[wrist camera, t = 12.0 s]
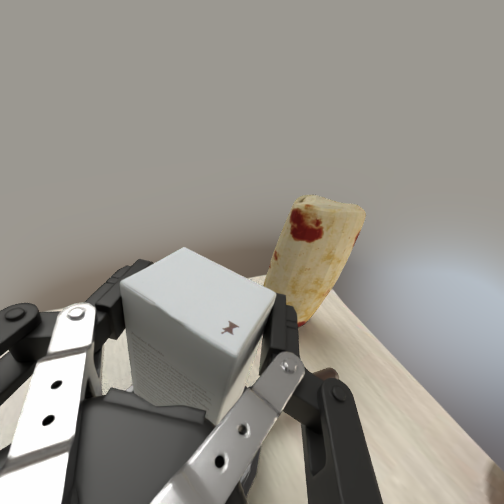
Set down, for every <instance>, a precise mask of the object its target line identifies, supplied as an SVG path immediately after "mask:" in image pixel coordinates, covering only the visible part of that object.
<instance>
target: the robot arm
mask: <svg viewBox="0 0 504 504" xmlns="http://www.w3.org/2000/svg"><path fill="white" fill-rule="evenodd" d="M152 264H154V263H153V262H150V261H146V260H142V259H138V260H137V261H136V262H135V263H134V264H133V265H132V266H125V267H123V268H121V269H119V270H117V272H115V274H113V275H112V276H111V278H109V279H108V280H107V281H106V283H104V284H103V285H102V286H101V287H100V288H99V289H97V291H95V292H94V293H93V294H92V295H91V296H90V297H89V298H88V299H87V300H86V301H85V302H84V303H76V304H73V305H70V306H68V307H66V308H64V309H63V310H62V311H59V312H39V310H38V308H37V307H36V306H35V305H34V304H30V303H20V304H15V305H12V306H9V307H7V308H5V309H3V310H1V311H0V356H1V355H2V354H4V353H5V352H6V351H7V350H9V352H8V353H7V354H5V355H4V356H3V357H2V358H0V406H1V405H2V404H3V403H4V402H5V401H6V400H7V399H8V398H9V397H10V396H11V395H12V394H13V393H14V392H15V391H16V390H17V389H18V388H19V387H20V386H21V385H22V384H23V383H24V382H25V381H26V380H27V379H28V378H29V377H30V376H31V375H32V374H33V377H32V380H31V383H30V386H29V390H28V393H27V396H26V399H25V402H24V406H23V409H22V412H21V415H20V419H19V422H18V425H17V428H16V432H15V435H14V438H13V441H12V444H10V445H8V446H7V447H5V448H3V449H2V450H0V504H248V503H247V500H246V497H245V494H244V491H243V488H242V485H241V482H240V479H241V477H242V475H243V474H244V472H245V471H246V469H247V467H248V466H249V464H250V462H251V461H252V459H253V458H254V456H255V454H256V453H257V451H258V449H259V448H260V446H261V445H262V443H263V441H264V440H265V438H266V436H267V435H268V433H269V432H270V430H271V428H272V427H273V425H274V423H275V422H276V420H277V419H278V417H279V415H280V414H281V412H282V411H284V412H285V413H287V414H288V415H290V416H291V417H293V418H294V419H296V420H297V421H299V422H300V423H301V428H302V439H303V451H304V462H305V473H306V484H307V495H308V504H383V501H382V498H381V494H380V491H379V487H378V484H377V480H376V476H375V473H374V469H373V466H372V462H371V458H370V455H369V451H368V448H367V444H366V440H365V437H364V433H363V430H362V426H361V422H360V419H359V415H358V412H357V408H356V404H355V401H354V397H353V394H352V392H351V391H350V389H349V388H348V386H347V385H346V384H345V383H343V382H342V381H340V380H339V379H336V378H327V379H325V380H322V379H321V378H319V377H317V376H315V375H314V374H312V373H311V372H309V371H308V370H307V369H306V368H305V367H304V365H303V362H302V361H301V359H300V355H299V338H298V324H297V322H298V320H297V313H296V311H295V309H294V307H293V306H290V305H286V295H284V294H280V293H276V292H275V293H276V298H275V301H274V304H273V307H272V310H271V313H270V315H269V318H268V321H267V324H266V327H265V330H264V333H263V339H262V348H261V358H260V368H259V375H260V377H259V378H258V380H257V381H256V382H255V383H254V384H253V386H251V387H248V388H247V389H246V390H245V392H244V393H243V394H242V395H241V396H240V398H239V399H238V400H237V401H236V403H235V404H234V405H233V406H232V407H231V409H230V410H229V411H228V412H227V414H226V415H225V416H224V417H223V418H222V420H221V421H220V422H219V423H218V424H217V426H215V425H214V424H213V423H212V422H211V421H210V420H208V419H207V418H205V416H206V410H202V409H198V408H194V407H190V406H186V405H171V406H155V405H153V404H151V403H149V402H148V401H146V400H145V399H143V398H141V397H140V396H138V395H137V394H135V393H132V392H128V391H124V390H119V389H115V388H110V389H109V391H108V393H107V394H106V395H102V384H101V383H102V369H103V357H104V343H105V342H106V341H107V339H108V338H110V339H114V340H117V339H118V337H119V336H120V335H121V333H122V332H123V331H124V329H125V320H124V313H123V305H122V297H121V290H120V282H121V281H122V280H123V279H125V278H127V277H129V276H131V275H133V274H135V273H137V272H139V271H141V270H143V269H145V268H147V267H149V266H150V265H152Z"/></svg>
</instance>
